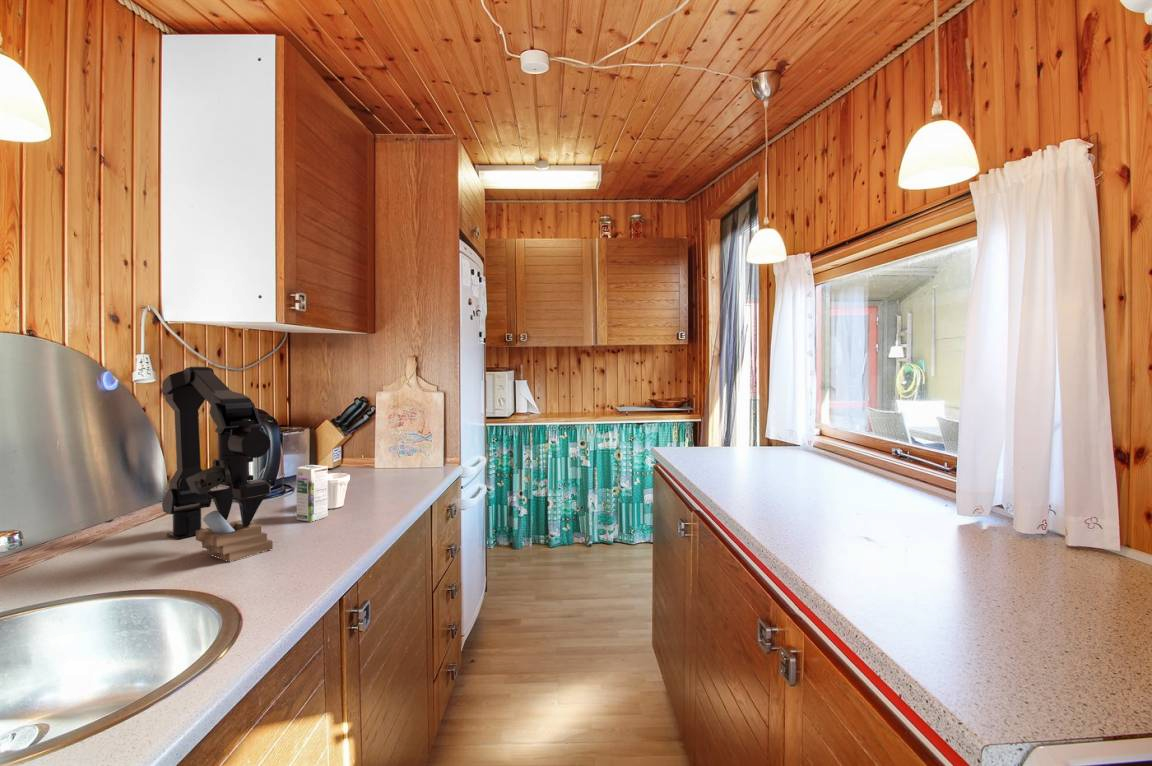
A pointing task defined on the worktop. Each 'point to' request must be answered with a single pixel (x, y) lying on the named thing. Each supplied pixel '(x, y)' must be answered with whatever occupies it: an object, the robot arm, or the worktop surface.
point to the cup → (337, 489)
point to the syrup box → (312, 492)
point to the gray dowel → (217, 523)
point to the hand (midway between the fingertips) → (234, 523)
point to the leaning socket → (235, 541)
